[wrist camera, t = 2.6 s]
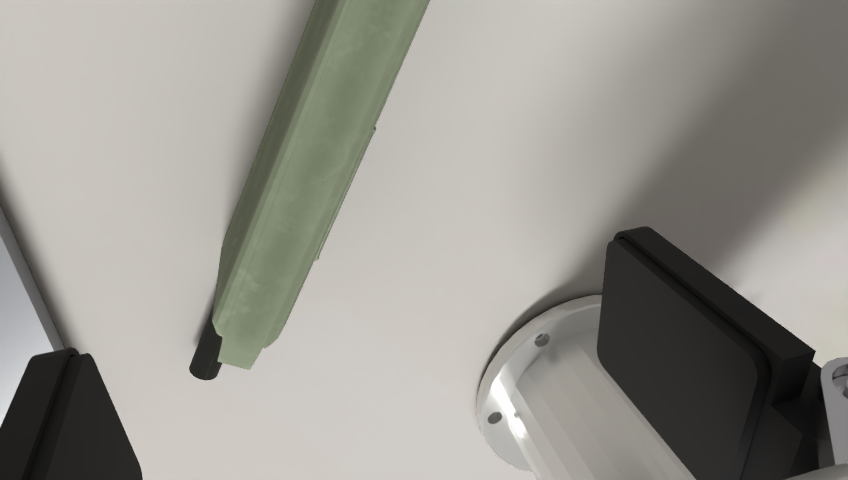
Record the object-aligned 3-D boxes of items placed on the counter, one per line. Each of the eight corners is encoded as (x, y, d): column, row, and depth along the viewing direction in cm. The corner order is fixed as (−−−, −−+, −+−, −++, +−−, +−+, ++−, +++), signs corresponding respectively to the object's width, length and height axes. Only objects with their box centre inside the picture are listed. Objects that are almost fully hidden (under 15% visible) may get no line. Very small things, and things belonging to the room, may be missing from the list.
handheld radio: (473, -180, 22) (240, 364, 29) (391, -236, 20) (171, 348, 28) (549, -224, 16) (235, 468, 24) (442, -306, 15) (147, 455, 22)
